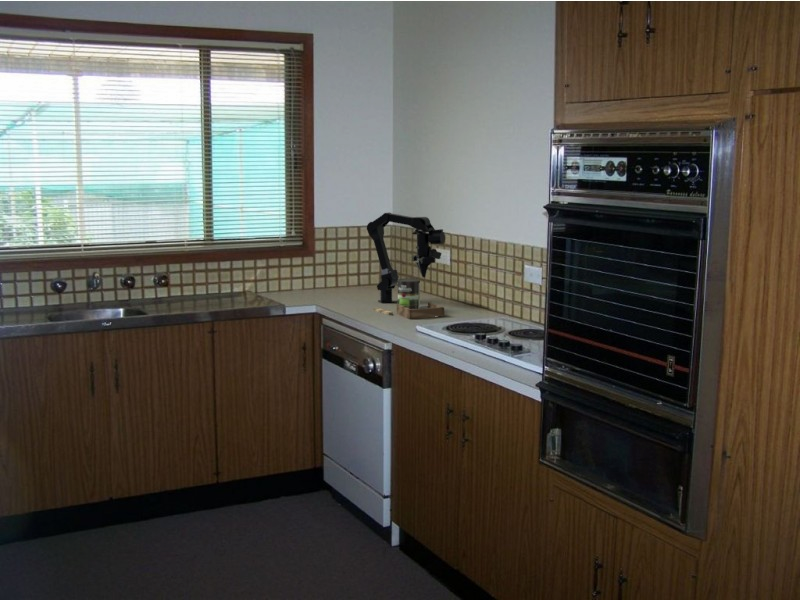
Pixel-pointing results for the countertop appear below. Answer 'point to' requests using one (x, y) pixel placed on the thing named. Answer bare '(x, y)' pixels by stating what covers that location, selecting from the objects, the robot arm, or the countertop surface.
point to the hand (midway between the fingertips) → (423, 277)
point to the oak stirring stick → (383, 311)
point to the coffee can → (409, 293)
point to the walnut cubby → (421, 311)
